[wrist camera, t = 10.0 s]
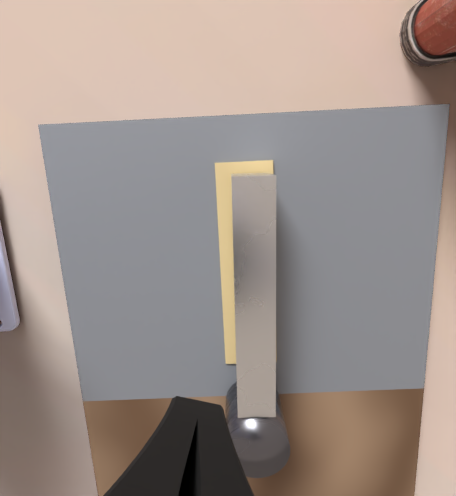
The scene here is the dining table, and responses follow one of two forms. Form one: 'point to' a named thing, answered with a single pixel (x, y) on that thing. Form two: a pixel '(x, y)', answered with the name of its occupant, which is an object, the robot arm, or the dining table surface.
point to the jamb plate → (290, 441)
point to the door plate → (221, 247)
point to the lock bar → (255, 329)
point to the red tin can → (430, 32)
